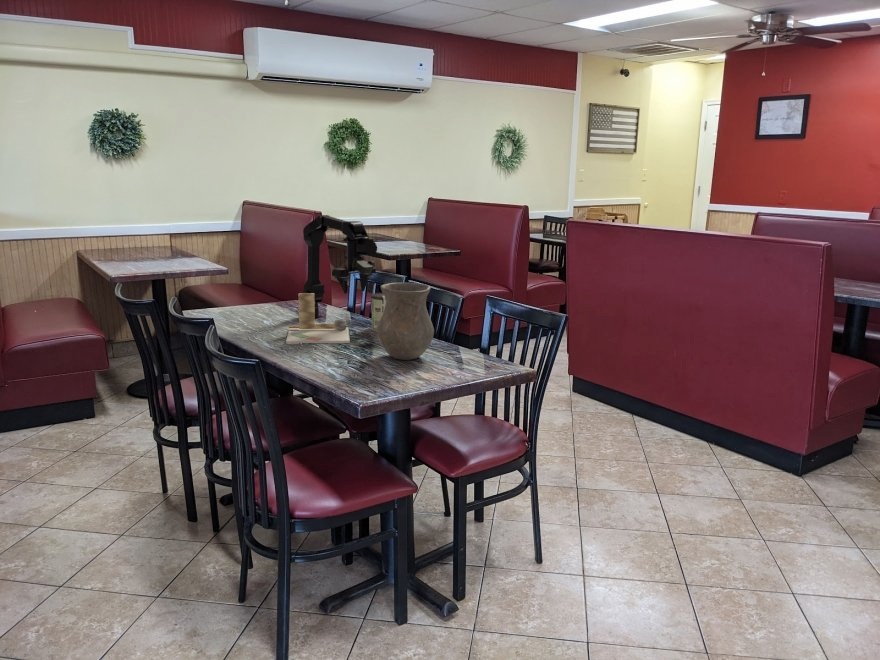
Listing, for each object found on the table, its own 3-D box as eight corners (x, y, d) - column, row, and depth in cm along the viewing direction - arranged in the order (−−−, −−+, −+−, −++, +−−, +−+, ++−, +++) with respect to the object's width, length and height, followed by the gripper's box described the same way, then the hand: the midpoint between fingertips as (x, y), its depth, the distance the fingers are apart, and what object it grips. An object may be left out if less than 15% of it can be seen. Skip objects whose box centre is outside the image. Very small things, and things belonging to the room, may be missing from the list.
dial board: (348, 329, 277) (348, 326, 277) (349, 343, 256) (349, 339, 256) (289, 330, 274) (289, 327, 274) (286, 344, 253) (286, 340, 252)
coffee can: (397, 326, 285) (398, 292, 282) (395, 332, 275) (396, 297, 272) (372, 326, 285) (372, 292, 282) (369, 331, 275) (369, 296, 272)
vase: (442, 354, 244) (443, 284, 238) (420, 367, 226) (421, 292, 221) (391, 348, 251) (391, 279, 245) (366, 360, 233) (366, 287, 228)
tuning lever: (346, 327, 275) (345, 292, 272) (346, 329, 271) (346, 294, 268) (289, 327, 272) (288, 292, 269) (288, 330, 268) (287, 294, 264)
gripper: (349, 257, 262) (349, 297, 266) (385, 253, 276) (385, 292, 279) (330, 254, 270) (331, 294, 273) (366, 251, 283) (366, 288, 287)
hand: (354, 292), depth 278 cm, fingers open, 9 cm apart
